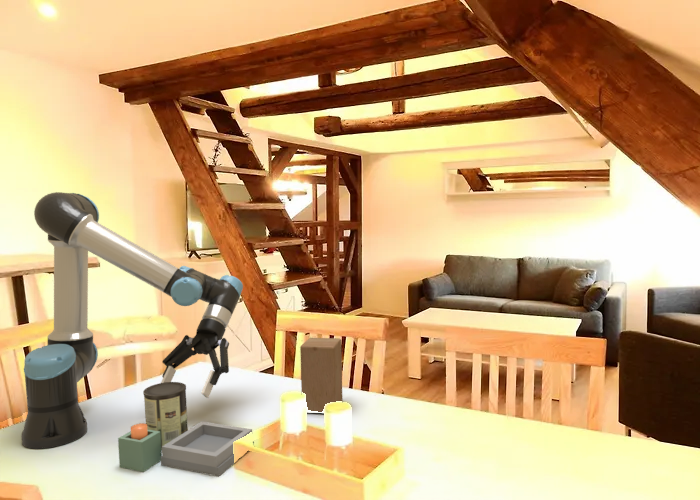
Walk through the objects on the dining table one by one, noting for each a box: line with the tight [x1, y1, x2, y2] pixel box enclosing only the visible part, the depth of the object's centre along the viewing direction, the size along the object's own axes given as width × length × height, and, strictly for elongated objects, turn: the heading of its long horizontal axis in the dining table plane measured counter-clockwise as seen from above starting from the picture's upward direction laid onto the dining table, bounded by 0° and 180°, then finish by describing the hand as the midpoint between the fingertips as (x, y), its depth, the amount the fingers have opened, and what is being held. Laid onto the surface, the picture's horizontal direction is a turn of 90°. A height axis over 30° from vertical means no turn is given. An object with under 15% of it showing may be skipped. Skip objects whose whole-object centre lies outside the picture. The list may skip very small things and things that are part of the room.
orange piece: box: [130, 422, 148, 440], centre depth 122 cm, size 4×4×5 cm
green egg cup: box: [117, 429, 162, 473], centre depth 122 cm, size 7×6×7 cm
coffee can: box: [143, 381, 189, 452], centre depth 133 cm, size 10×10×14 cm
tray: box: [160, 421, 253, 477], centre depth 125 cm, size 16×15×4 cm
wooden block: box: [299, 337, 343, 412], centre depth 153 cm, size 10×10×20 cm
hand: (182, 393), depth 137 cm, fingers open, 13 cm apart
